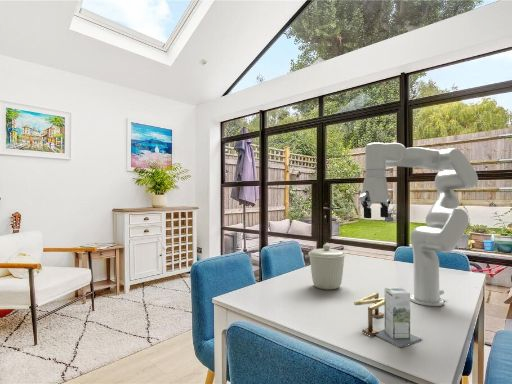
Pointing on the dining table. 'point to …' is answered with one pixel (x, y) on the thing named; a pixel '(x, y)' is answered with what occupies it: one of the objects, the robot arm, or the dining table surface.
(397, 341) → the slate mat
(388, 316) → the syrup box
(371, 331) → the accordion peg rack
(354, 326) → the dining table surface
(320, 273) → the canister
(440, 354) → the dining table surface
